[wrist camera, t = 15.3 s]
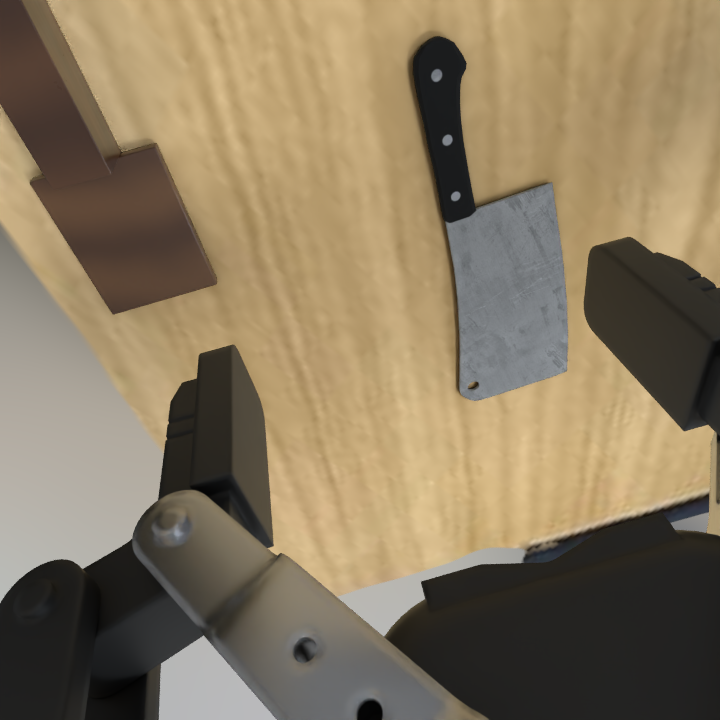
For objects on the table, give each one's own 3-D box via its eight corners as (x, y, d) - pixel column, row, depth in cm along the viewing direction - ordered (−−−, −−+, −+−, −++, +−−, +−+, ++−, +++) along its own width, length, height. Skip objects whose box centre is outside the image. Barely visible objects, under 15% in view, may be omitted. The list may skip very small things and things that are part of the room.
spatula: (-215, -220, 19) (-286, -246, 16) (-25, -267, 19) (-65, -300, 17) (114, 308, 35) (105, 340, 32) (217, 278, 35) (217, 307, 32)
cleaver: (570, -11, 29) (396, 49, 29) (575, -10, 28) (399, 50, 28) (565, 368, 48) (461, 405, 48) (568, 372, 47) (463, 409, 47)
